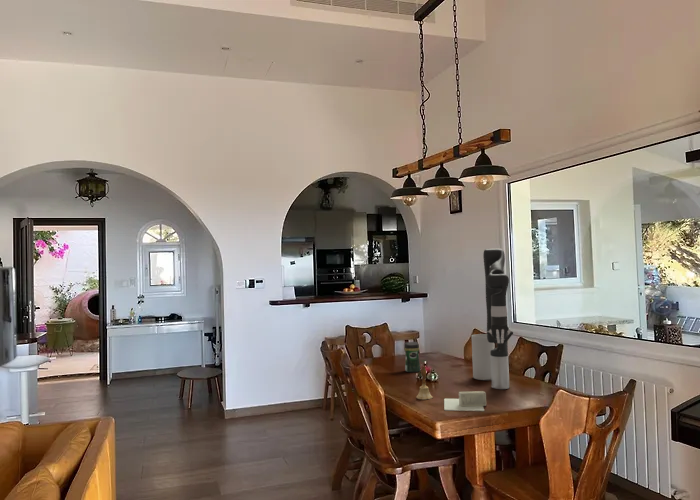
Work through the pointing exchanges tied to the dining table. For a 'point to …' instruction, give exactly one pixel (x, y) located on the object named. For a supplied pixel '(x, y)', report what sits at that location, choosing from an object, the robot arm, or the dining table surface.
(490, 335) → the robot arm
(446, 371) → the dining table surface
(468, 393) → the skincare box
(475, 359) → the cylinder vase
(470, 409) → the mat
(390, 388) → the dining table surface
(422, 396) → the hand bell
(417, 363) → the coffee jar
